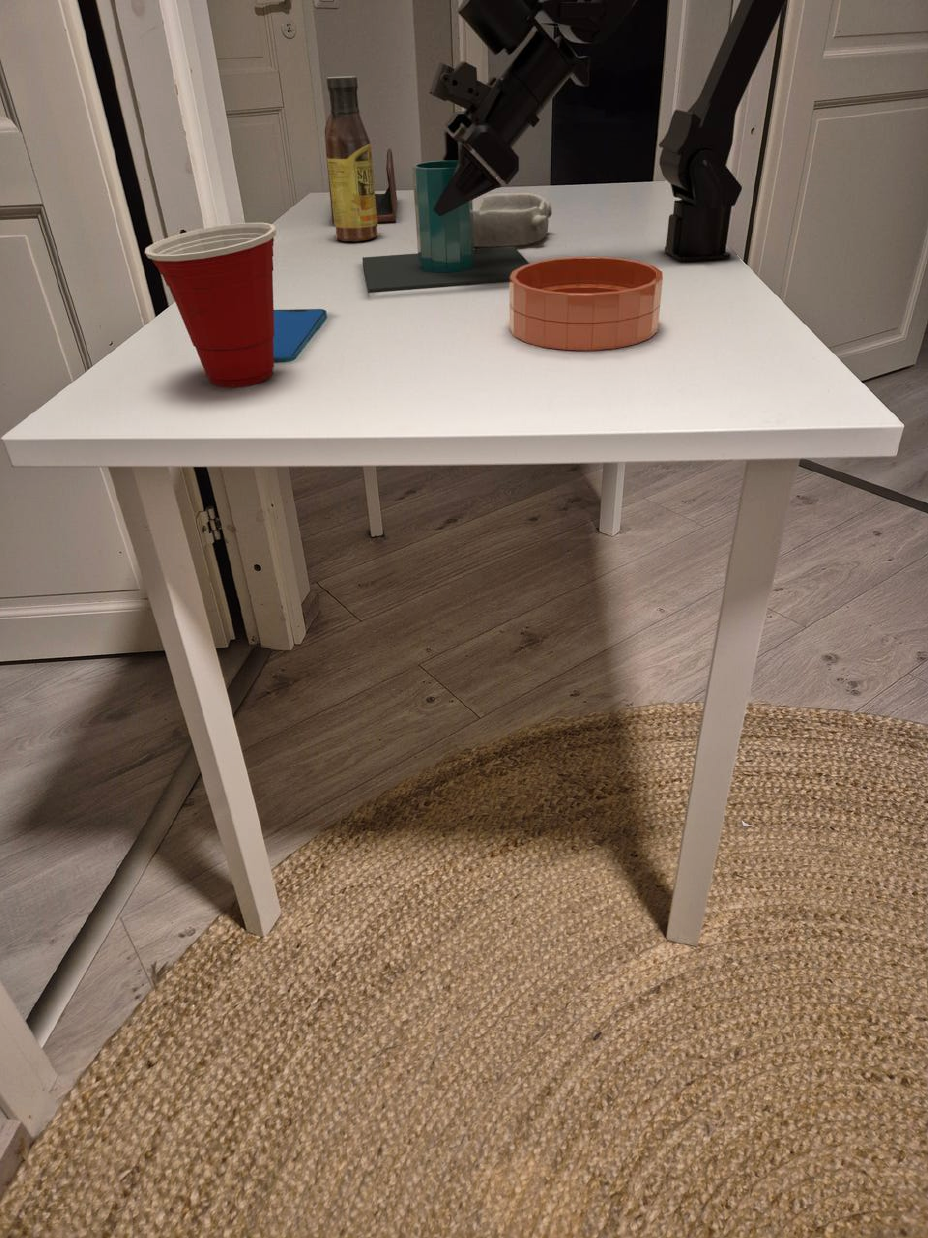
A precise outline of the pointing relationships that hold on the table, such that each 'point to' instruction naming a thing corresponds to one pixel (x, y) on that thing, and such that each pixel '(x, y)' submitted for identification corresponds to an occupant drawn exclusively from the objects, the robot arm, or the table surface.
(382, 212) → the letter holder
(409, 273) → the mat
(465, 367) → the table surface
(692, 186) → the robot arm
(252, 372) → the plastic cup
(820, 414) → the table surface
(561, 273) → the bowl
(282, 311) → the smartphone
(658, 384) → the table surface
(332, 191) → the sauce bottle
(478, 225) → the dish
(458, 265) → the tumbler
